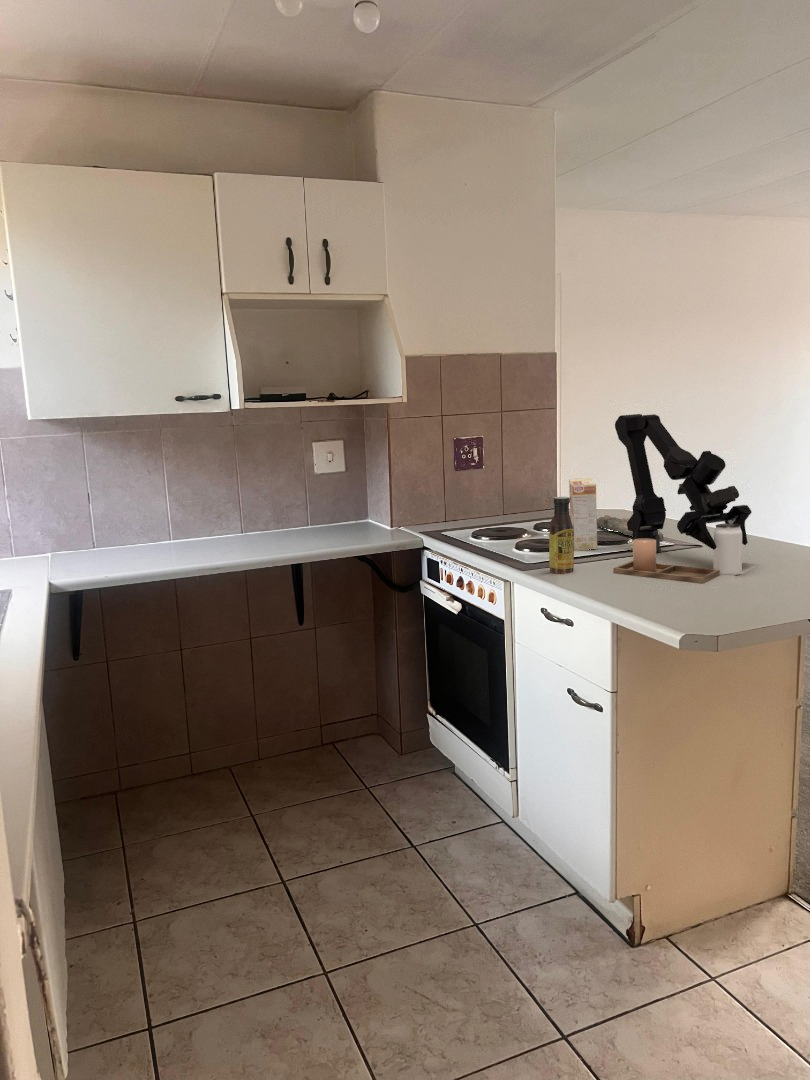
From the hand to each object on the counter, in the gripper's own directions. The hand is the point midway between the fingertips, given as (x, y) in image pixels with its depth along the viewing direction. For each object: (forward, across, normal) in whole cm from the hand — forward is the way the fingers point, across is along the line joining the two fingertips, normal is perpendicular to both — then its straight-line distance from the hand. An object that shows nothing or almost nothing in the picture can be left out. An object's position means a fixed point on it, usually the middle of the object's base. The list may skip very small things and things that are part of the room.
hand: (730, 546), depth 197 cm
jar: (-4, -16, +13) cm, 21 cm away
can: (+4, 0, +6) cm, 7 cm away
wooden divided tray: (0, -14, +10) cm, 17 cm away
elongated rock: (-38, +12, +48) cm, 63 cm away
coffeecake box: (-32, -9, +42) cm, 53 cm away
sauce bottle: (-12, -33, +22) cm, 41 cm away
